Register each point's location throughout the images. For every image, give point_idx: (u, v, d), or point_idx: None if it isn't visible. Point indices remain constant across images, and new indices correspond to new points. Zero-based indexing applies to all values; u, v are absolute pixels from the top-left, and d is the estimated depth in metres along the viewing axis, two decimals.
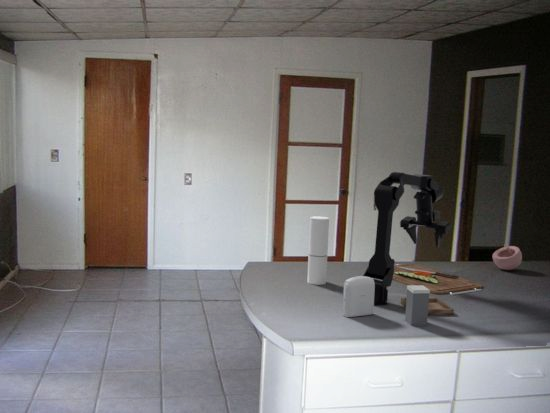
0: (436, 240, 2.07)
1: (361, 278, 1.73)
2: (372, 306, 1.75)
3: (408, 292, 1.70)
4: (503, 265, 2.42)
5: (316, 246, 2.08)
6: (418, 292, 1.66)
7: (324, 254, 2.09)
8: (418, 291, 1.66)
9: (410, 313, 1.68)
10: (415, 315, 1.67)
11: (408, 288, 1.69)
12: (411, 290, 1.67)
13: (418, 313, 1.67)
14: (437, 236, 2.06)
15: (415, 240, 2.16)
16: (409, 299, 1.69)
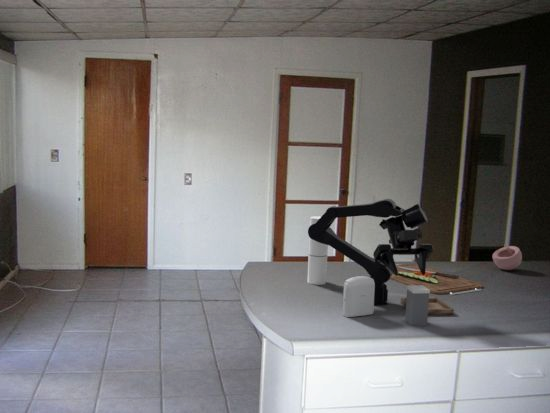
0: None
1: (361, 278, 1.73)
2: (372, 306, 1.75)
3: (408, 292, 1.70)
4: (503, 265, 2.42)
5: (316, 246, 2.08)
6: (418, 292, 1.66)
7: (324, 254, 2.09)
8: (418, 291, 1.66)
9: (410, 313, 1.68)
10: (415, 315, 1.67)
11: (408, 288, 1.69)
12: (411, 290, 1.67)
13: (418, 313, 1.67)
14: None
15: (422, 271, 1.76)
16: (409, 299, 1.69)
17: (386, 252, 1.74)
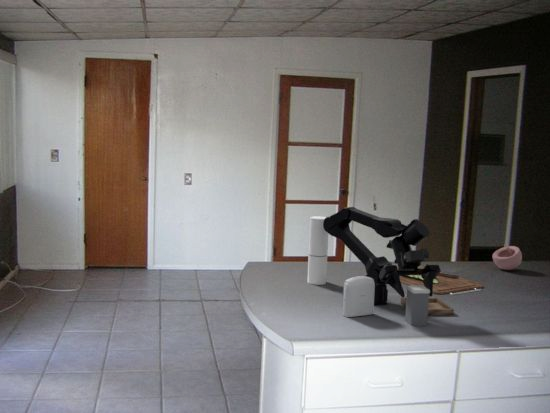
0: None
1: (361, 278, 1.73)
2: (372, 306, 1.75)
3: (408, 292, 1.70)
4: (503, 265, 2.42)
5: (316, 246, 2.08)
6: (418, 292, 1.66)
7: (324, 254, 2.09)
8: (418, 291, 1.66)
9: (410, 313, 1.68)
10: (415, 315, 1.67)
11: (408, 288, 1.69)
12: (411, 290, 1.67)
13: (418, 313, 1.67)
14: None
15: None
16: (409, 299, 1.69)
17: (392, 273, 1.69)
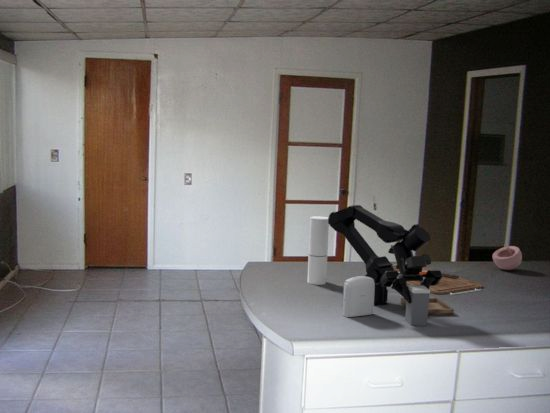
0: None
1: (361, 278, 1.73)
2: (372, 306, 1.75)
3: None
4: (503, 265, 2.42)
5: (316, 246, 2.08)
6: (418, 292, 1.66)
7: (324, 254, 2.09)
8: (418, 291, 1.66)
9: (410, 313, 1.68)
10: (415, 315, 1.67)
11: (408, 288, 1.69)
12: (411, 290, 1.67)
13: (418, 313, 1.67)
14: None
15: None
16: None
17: (399, 279, 1.69)
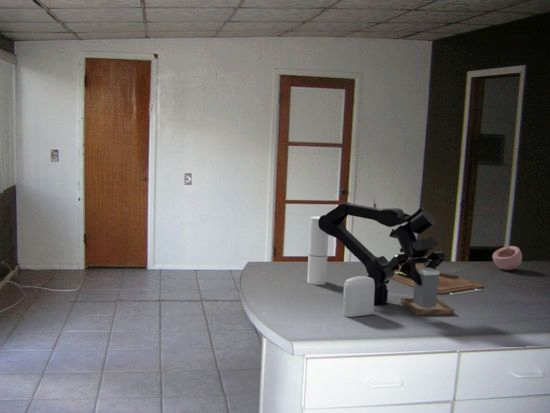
0: None
1: (361, 278, 1.73)
2: (372, 306, 1.75)
3: None
4: (503, 265, 2.42)
5: (316, 246, 2.08)
6: (429, 274, 1.69)
7: (324, 254, 2.09)
8: (429, 273, 1.68)
9: (420, 295, 1.70)
10: (426, 296, 1.69)
11: (417, 270, 1.72)
12: (422, 272, 1.69)
13: (428, 295, 1.70)
14: None
15: None
16: None
17: (409, 262, 1.70)
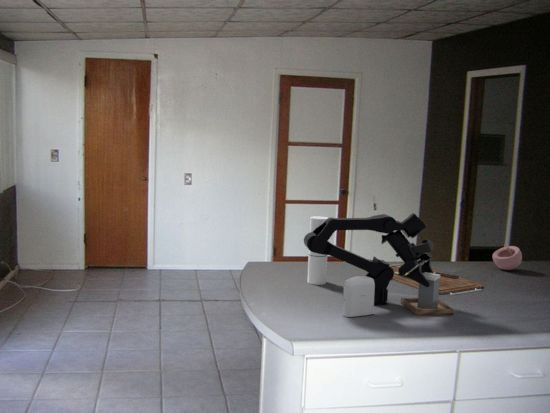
0: None
1: (361, 278, 1.73)
2: (372, 306, 1.75)
3: None
4: (503, 265, 2.42)
5: None
6: (436, 279, 1.80)
7: None
8: (436, 278, 1.80)
9: (429, 299, 1.81)
10: (434, 300, 1.81)
11: None
12: (430, 278, 1.80)
13: (435, 298, 1.82)
14: None
15: None
16: (424, 286, 1.81)
17: (418, 266, 1.77)
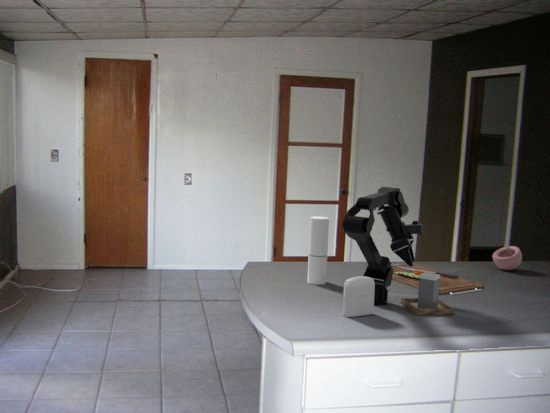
0: None
1: (361, 278, 1.73)
2: (372, 306, 1.75)
3: (422, 281, 1.82)
4: (503, 265, 2.42)
5: (316, 246, 2.08)
6: (436, 279, 1.80)
7: (324, 254, 2.09)
8: (436, 278, 1.80)
9: (429, 299, 1.81)
10: (434, 300, 1.81)
11: (423, 277, 1.81)
12: (430, 278, 1.80)
13: (435, 298, 1.82)
14: None
15: (411, 258, 1.95)
16: (424, 286, 1.81)
17: (409, 246, 1.83)
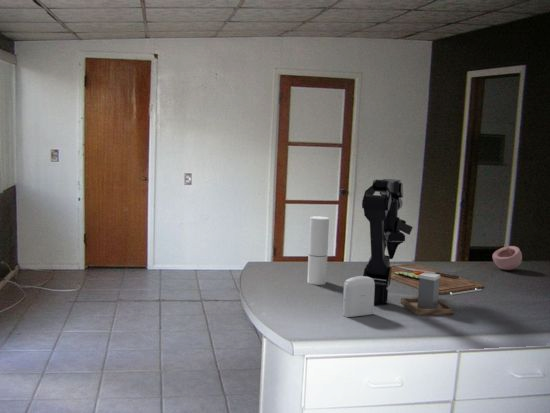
0: (387, 249, 1.97)
1: (361, 278, 1.73)
2: (372, 306, 1.75)
3: (422, 281, 1.82)
4: (503, 265, 2.42)
5: (316, 246, 2.08)
6: (436, 279, 1.80)
7: (324, 254, 2.09)
8: (436, 278, 1.80)
9: (429, 299, 1.81)
10: (434, 300, 1.81)
11: (423, 277, 1.81)
12: (430, 278, 1.80)
13: (435, 298, 1.82)
14: (386, 244, 1.96)
15: None
16: (424, 286, 1.81)
17: None
